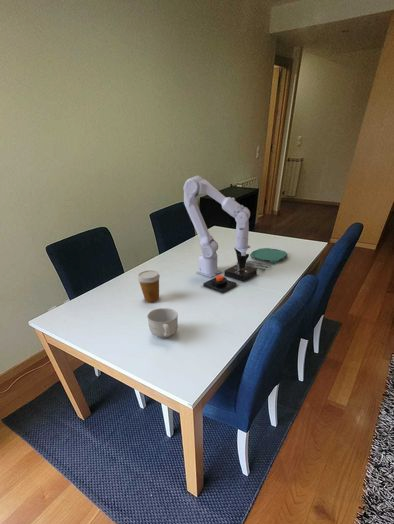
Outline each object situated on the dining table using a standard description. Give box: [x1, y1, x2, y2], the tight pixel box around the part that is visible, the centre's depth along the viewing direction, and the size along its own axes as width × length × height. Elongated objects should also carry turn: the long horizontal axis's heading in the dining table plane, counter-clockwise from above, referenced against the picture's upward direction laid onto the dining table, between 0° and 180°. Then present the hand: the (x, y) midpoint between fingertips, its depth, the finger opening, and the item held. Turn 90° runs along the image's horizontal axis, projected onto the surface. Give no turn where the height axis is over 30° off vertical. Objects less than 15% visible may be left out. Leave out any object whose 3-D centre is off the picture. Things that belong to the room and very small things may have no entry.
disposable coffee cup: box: [136, 269, 161, 304], centre depth 127 cm, size 10×10×12 cm
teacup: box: [146, 307, 179, 338], centre depth 105 cm, size 14×11×8 cm
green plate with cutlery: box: [245, 247, 288, 272], centre depth 161 cm, size 20×30×2 cm, turn 141°
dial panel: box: [223, 264, 258, 283], centre depth 146 cm, size 12×11×3 cm
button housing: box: [202, 276, 237, 294], centre depth 137 cm, size 12×10×4 cm
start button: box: [215, 274, 225, 281], centre depth 136 cm, size 4×4×2 cm
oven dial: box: [236, 261, 245, 271], centre depth 144 cm, size 4×4×4 cm
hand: (240, 265), depth 144 cm, fingers open, 7 cm apart
